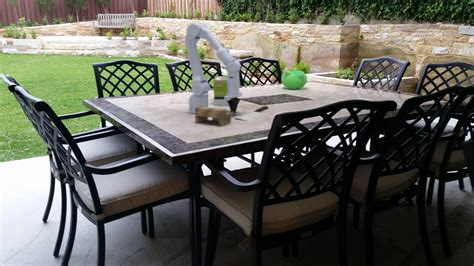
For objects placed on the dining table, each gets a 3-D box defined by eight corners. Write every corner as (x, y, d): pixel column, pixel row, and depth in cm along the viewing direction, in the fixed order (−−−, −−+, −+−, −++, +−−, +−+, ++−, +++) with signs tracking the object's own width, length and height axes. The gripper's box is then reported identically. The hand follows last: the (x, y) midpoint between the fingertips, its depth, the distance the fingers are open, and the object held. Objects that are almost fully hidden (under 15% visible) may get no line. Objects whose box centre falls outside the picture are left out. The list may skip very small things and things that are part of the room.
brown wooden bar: (212, 120, 183) (212, 115, 182) (226, 114, 195) (226, 110, 194) (219, 121, 181) (219, 116, 181) (233, 115, 193) (233, 111, 193)
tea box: (215, 101, 231) (214, 76, 227) (232, 101, 231) (232, 76, 228) (213, 106, 217) (213, 79, 213) (231, 106, 217) (231, 79, 213)
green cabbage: (307, 87, 283) (308, 67, 279) (305, 91, 267) (306, 69, 263) (282, 86, 287) (282, 66, 283) (279, 90, 271) (280, 69, 267)
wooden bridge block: (195, 122, 178) (195, 107, 176) (205, 119, 185) (204, 104, 183) (222, 126, 172) (221, 111, 170) (230, 122, 179) (230, 107, 177)
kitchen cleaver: (253, 120, 181) (234, 115, 185) (252, 124, 181) (233, 119, 185) (278, 108, 207) (261, 104, 211) (278, 112, 208) (261, 108, 212)
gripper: (233, 88, 183) (233, 116, 186) (247, 84, 195) (247, 111, 199) (220, 87, 186) (220, 115, 189) (235, 83, 198) (234, 109, 202)
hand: (233, 112), depth 194 cm, fingers closed
